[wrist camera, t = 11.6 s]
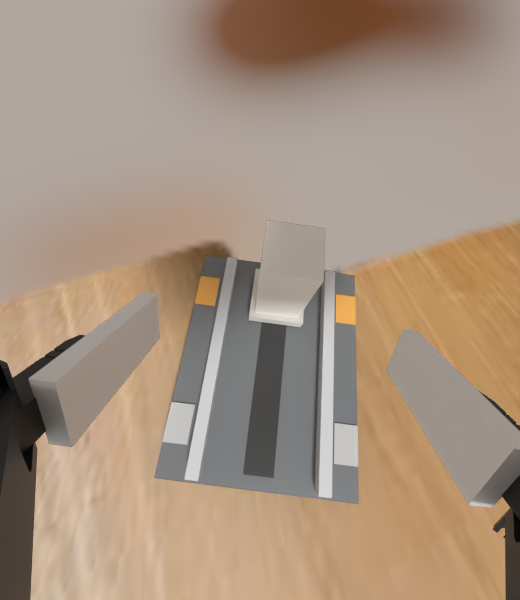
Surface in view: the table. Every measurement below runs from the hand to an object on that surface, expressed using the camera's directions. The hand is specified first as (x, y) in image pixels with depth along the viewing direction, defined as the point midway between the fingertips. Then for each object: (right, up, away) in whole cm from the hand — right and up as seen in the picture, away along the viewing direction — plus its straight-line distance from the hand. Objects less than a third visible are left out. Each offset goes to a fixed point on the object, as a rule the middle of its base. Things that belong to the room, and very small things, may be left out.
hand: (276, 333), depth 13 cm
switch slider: (+1, +2, +11) cm, 11 cm away
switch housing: (0, -5, +12) cm, 13 cm away
